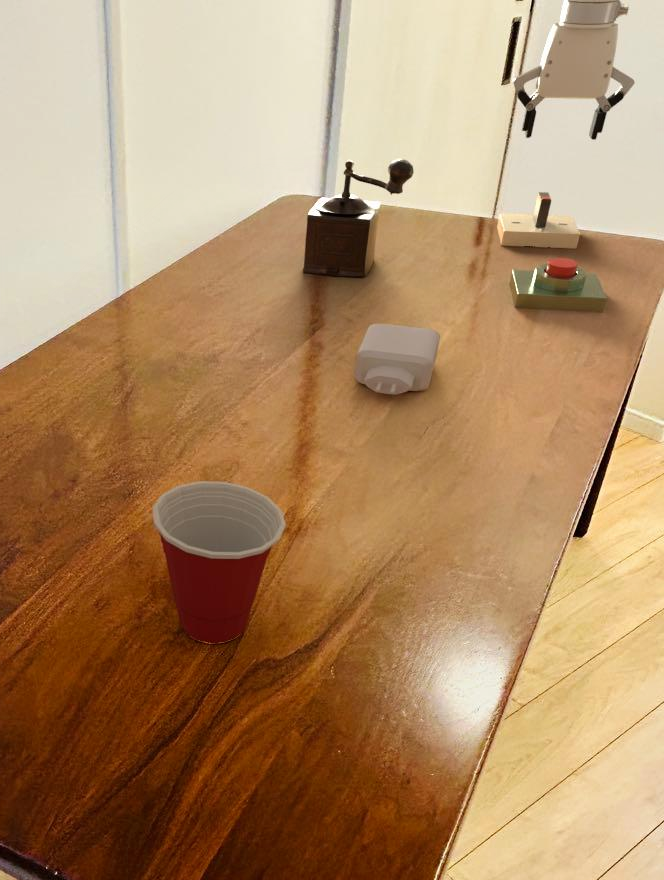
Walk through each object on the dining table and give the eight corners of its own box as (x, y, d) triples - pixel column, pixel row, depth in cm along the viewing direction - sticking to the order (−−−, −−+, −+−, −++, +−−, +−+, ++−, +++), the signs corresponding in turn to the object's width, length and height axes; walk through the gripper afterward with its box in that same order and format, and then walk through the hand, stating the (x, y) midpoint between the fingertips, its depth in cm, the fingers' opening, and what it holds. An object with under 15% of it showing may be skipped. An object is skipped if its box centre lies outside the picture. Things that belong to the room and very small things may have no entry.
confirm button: (572, 270, 135) (575, 258, 134) (576, 279, 132) (579, 268, 131) (544, 268, 136) (546, 257, 135) (547, 278, 133) (549, 266, 132)
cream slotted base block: (568, 230, 160) (572, 214, 158) (576, 248, 152) (580, 232, 151) (497, 227, 163) (500, 212, 161) (501, 245, 155) (504, 230, 153)
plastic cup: (295, 653, 76) (307, 539, 69) (172, 676, 75) (170, 562, 68) (254, 576, 85) (260, 468, 78) (142, 595, 83) (138, 486, 76)
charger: (343, 404, 111) (364, 355, 123) (420, 415, 108) (435, 363, 120) (347, 369, 109) (369, 321, 120) (427, 379, 106) (441, 329, 117)
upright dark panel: (532, 218, 158) (538, 190, 155) (542, 218, 158) (548, 190, 155) (535, 227, 154) (541, 198, 151) (545, 227, 154) (551, 199, 151)
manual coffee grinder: (299, 274, 148) (308, 158, 137) (314, 252, 156) (323, 141, 146) (396, 283, 143) (413, 163, 132) (406, 260, 151) (422, 146, 141)
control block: (592, 287, 138) (599, 261, 136) (602, 312, 131) (610, 286, 128) (509, 283, 141) (514, 258, 139) (514, 307, 133) (520, 281, 131)
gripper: (648, 10, 135) (615, 132, 145) (524, 11, 139) (501, 130, 150) (656, 17, 130) (622, 144, 140) (528, 17, 134) (503, 140, 144)
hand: (559, 136), depth 145 cm, fingers open, 9 cm apart
